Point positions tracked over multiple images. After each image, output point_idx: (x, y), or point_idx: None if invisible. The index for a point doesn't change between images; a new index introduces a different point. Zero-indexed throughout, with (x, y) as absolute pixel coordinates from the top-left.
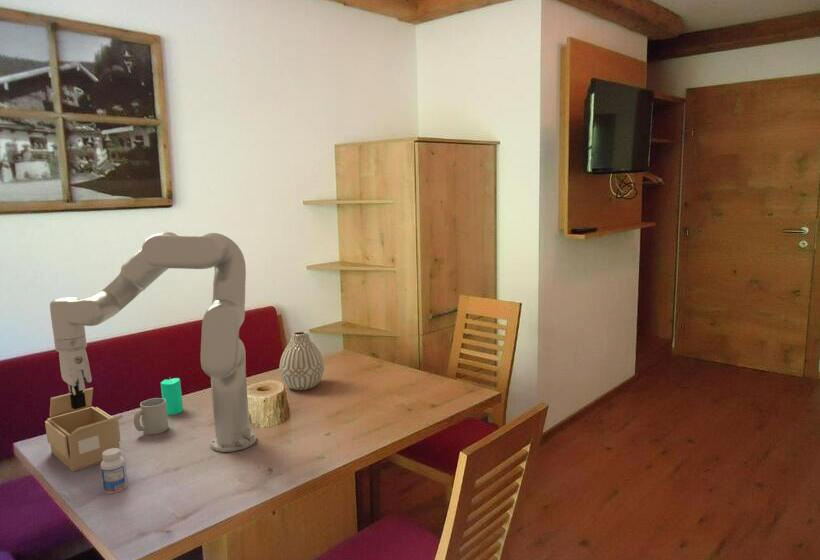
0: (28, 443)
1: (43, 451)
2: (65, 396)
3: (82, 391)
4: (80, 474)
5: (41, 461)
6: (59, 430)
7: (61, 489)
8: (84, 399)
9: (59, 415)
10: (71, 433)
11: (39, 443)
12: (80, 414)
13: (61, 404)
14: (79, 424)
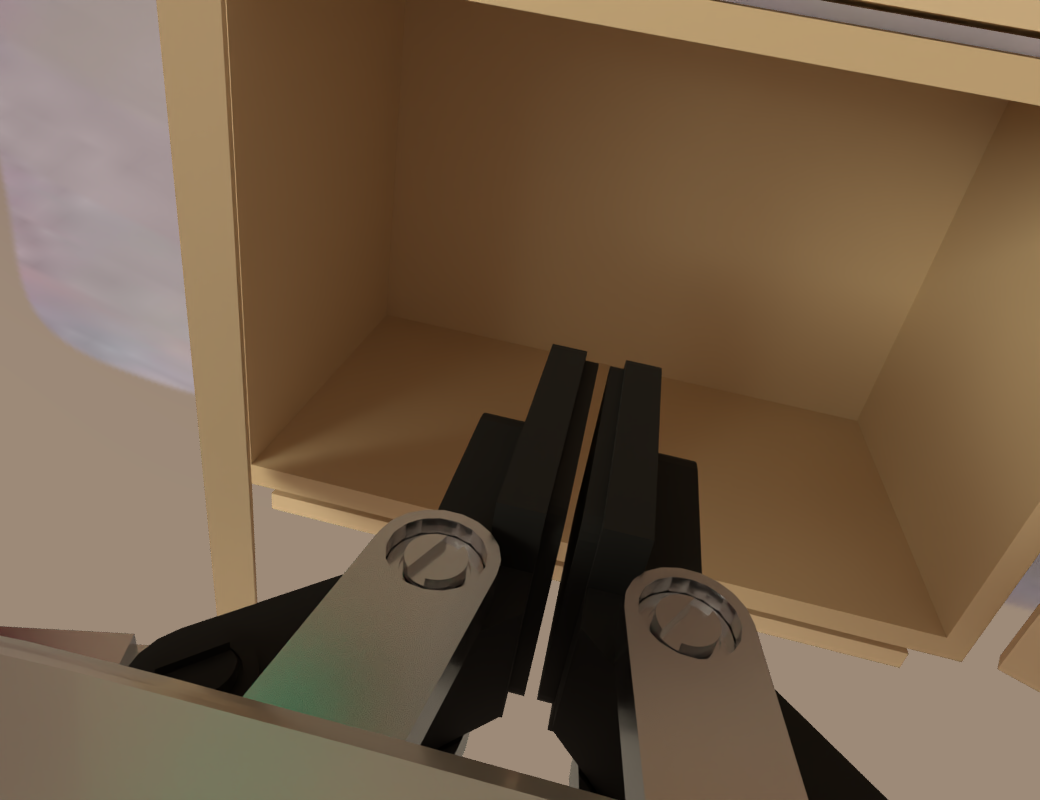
0: (79, 312)
1: None
2: (253, 575)
3: (795, 720)
4: None
5: None
6: None
7: (1021, 593)
8: (655, 445)
9: None
10: (1006, 671)
11: (131, 275)
12: (264, 129)
13: (251, 498)
14: (324, 136)
